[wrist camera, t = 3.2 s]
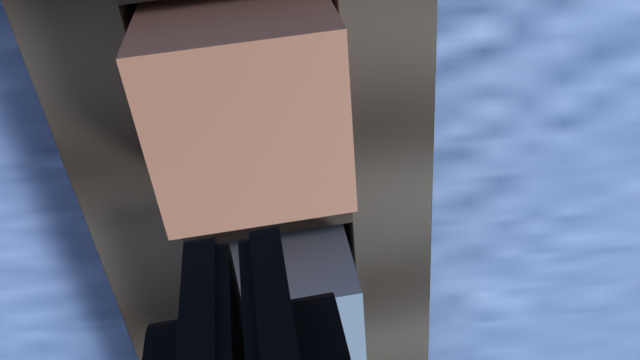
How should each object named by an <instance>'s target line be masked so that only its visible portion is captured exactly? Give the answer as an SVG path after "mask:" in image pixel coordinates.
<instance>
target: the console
mask: <svg viewBox="0 0 640 360" xmlns="http://www.w3.org/2000/svg"><path fill="white" fill-rule="evenodd" d="M149 1H157V0H1V2H2V5H3V7H4V10H5V13H6V15H7V18H8V20H9V23H10V26H11V28H12V31H13V33H14V36H15V39H16V41H17V44H18V46H19V49H20V52H21V54H22V57H23V59H24V62H25V65H26V67H27V70H28V72H29V75H30V78H31V80H32V83H33V85H34V88H35V91H36V93H37V96H38V98H39V101H40V104H41V106H42V109H43V111H44V114H45V117H46V119H47V122H48V124H49V127H50V130H51V132H52V135H53V137H54V140H55V143H56V145H57V148H58V150H59V153H60V156H61V158H62V161H63V163H64V166H65V169H66V171H67V174H68V176H69V179H70V182H71V184H72V187H73V190H74V192H75V195H76V197H77V200H78V203H79V205H80V208H81V210H82V213H83V216H84V218H85V221H86V223H87V226H88V229H89V231H90V234H91V236H92V239H93V242H94V244H95V247H96V249H97V252H98V255H99V257H100V260H101V262H102V265H103V268H104V270H105V273H106V275H107V278H108V281H109V283H110V286H111V288H112V291H113V294H114V296H115V299H116V301H117V304H118V307H119V309H120V312H121V314H122V317H123V320H124V322H125V325H126V327H127V330H128V333H129V335H130V338H131V340H132V343H133V346H134V348H135V351H136V353H137V356H138V359H139V360H142V355H143V347H144V340H145V333H146V329H147V326H148V325H149V324H151V323H157V322H163V321H169V320H174V319H178V310H179V296H180V282H181V268H182V254H183V243H184V241H189V240H196V239H202V238H208V237H214V236H215V237H216V239H217V242H218V243H222V242H229V241H235V240H242V239H248V238H249V231H251V230H257V229H263V228H269V227H275V226H279V229H280V234H281V233H287V232H293V231H300V230H306V229H313V228H319V227H326V226H332V225H339V224H343V226H344V230H345V233H346V237H347V240H348V244H349V247H350V251H351V254H352V258H353V261H354V265H355V268H356V271H357V275H358V278H359V282H360V285H361V289H362V292H363V307H364V323H365V340H366V356H367V360H428V337H429V299H430V261H431V223H432V186H433V148H434V110H435V72H436V35H437V0H331V1H332V3H333V5H334V6H335V8H336V10H337V12H338V14H339V16H340V17H341V19H342V21H343V23H344V25H345V27H346V28H347V42H348V59H349V75H350V92H351V108H352V125H353V141H354V158H355V174H356V191H357V207H358V211H357V212H351V213H344V214H338V215H331V216H325V217H318V218H312V219H305V220H299V221H292V222H286V223H279V224H273V225H266V226H260V227H253V228H247V229H240V230H234V231H227V232H221V233H214V234H208V235H201V236H195V237H188V238H182V239H175V240H168V237H167V233H166V230H165V226H164V223H163V220H162V216H161V213H160V209H159V206H158V202H157V199H156V196H155V192H154V189H153V185H152V182H151V178H150V175H149V172H148V168H147V165H146V161H145V158H144V155H143V151H142V148H141V144H140V141H139V137H138V134H137V131H136V127H135V124H134V120H133V117H132V114H131V110H130V107H129V103H128V100H127V96H126V93H125V90H124V86H123V83H122V79H121V76H120V73H119V69H118V66H117V62H116V57H117V54H118V52H119V49H120V47H121V44H122V42H123V39H124V37H125V34H126V32H127V29H128V27H129V24H130V22H131V19H132V17H133V14H134V12H135V9H136V7H137V4H138V3H141V2H149Z"/></svg>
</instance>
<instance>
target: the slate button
mask: <svg viewBox="0 0 640 360" xmlns="http://www.w3.org/2000/svg"><path fill="white" fill-rule="evenodd" d="M280 236H281V242H282V248H283V254H284V260H285V267H286V273H287V279H288V285H289V292H290V298H291V299H296V298H301V297H307V296H313V295H319V294H324V293H330V292H333V293H334V295H335V299H336V302H337V306H338V310H339V314H340V318H341V322H342V326H343V330H344V334H345V338H346V341H347V345H348V349H349V353H350V357H351V360H367V356H366V340H365V323H364V307H363V292H362V289H361V285H360V282H359V278H358V275H357V271H356V268H355V265H354V261H353V258H352V254H351V251H350V247H349V244H348V240H347V237H346V233H345V230H344V226H343V224H339V225H332V226H326V227H319V228H313V229H306V230H300V231H293V232H287V233H281V234H280ZM248 239H249V238H248ZM242 240H246V239H242ZM238 241H240V240H235V241H229V242H222V243H229V245H230V249H231V253H232V258H233V263H234V267H235V272H236V276H237V281H238V286H239V290H240V295H241V287H240V270H239V252H238ZM222 243H218V244H222Z"/></svg>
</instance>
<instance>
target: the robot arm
mask: <svg viewBox="0 0 640 360" xmlns="http://www.w3.org/2000/svg"><path fill="white" fill-rule="evenodd" d="M238 252H239V270H240V287H241V295H240V290H239V286H238V281H237V276H236V272H235V267H234V263H233V258H232V253H231V249H230V245H229V243H222V244H218V242H217V239H216V237H215V236H214V237H208V238H202V239H196V240H189V241H184V243H183V254H182V268H181V282H180V296H179V310H178V319H174V320H169V321H163V322H157V323H151V324H149V325H148V326H147V329H146V333H145V340H144V347H143V355H142V360H351V357H350V353H349V349H348V345H347V341H346V338H345V334H344V330H343V326H342V322H341V318H340V314H339V310H338V306H337V302H336V299H335V295H334V293H333V292H330V293H324V294H319V295H313V296H307V297H301V298H296V299H291V298H290V292H289V285H288V279H287V273H286V267H285V260H284V254H283V248H282V242H281V236H280V229H279V226H275V227H269V228H263V229H257V230H251V231H249V239H246V240H240V241H238Z"/></svg>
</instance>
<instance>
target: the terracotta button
mask: <svg viewBox="0 0 640 360" xmlns="http://www.w3.org/2000/svg"><path fill="white" fill-rule="evenodd" d="M116 62H117V66H118V69H119V73H120V76H121V79H122V83H123V86H124V90H125V93H126V96H127V100H128V103H129V107H130V110H131V114H132V117H133V120H134V124H135V127H136V131H137V134H138V137H139V141H140V144H141V148H142V151H143V155H144V158H145V161H146V165H147V168H148V172H149V175H150V178H151V182H152V185H153V189H154V192H155V196H156V199H157V202H158V206H159V209H160V213H161V216H162V220H163V223H164V226H165V230H166V233H167V237H168V240H175V239H182V238H188V237H195V236H201V235H208V234H214V233H221V232H227V231H234V230H240V229H247V228H253V227H260V226H266V225H273V224H279V223H286V222H292V221H299V220H305V219H312V218H318V217H325V216H331V215H338V214H344V213H351V212H357V211H358V207H357V191H356V174H355V158H354V141H353V125H352V108H351V92H350V75H349V59H348V42H347V28H346V27H345V25H344V23H343V21H342V19H341V17H340V16H339V14H338V12H337V10H336V8H335V6H334V5H333V3H332V1H331V0H157V1H149V2H141V3H138V4H137V7H136V9H135V12H134V14H133V17H132V19H131V22H130V24H129V27H128V29H127V32H126V34H125V37H124V39H123V42H122V44H121V47H120V49H119V52H118V54H117V57H116Z"/></svg>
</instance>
